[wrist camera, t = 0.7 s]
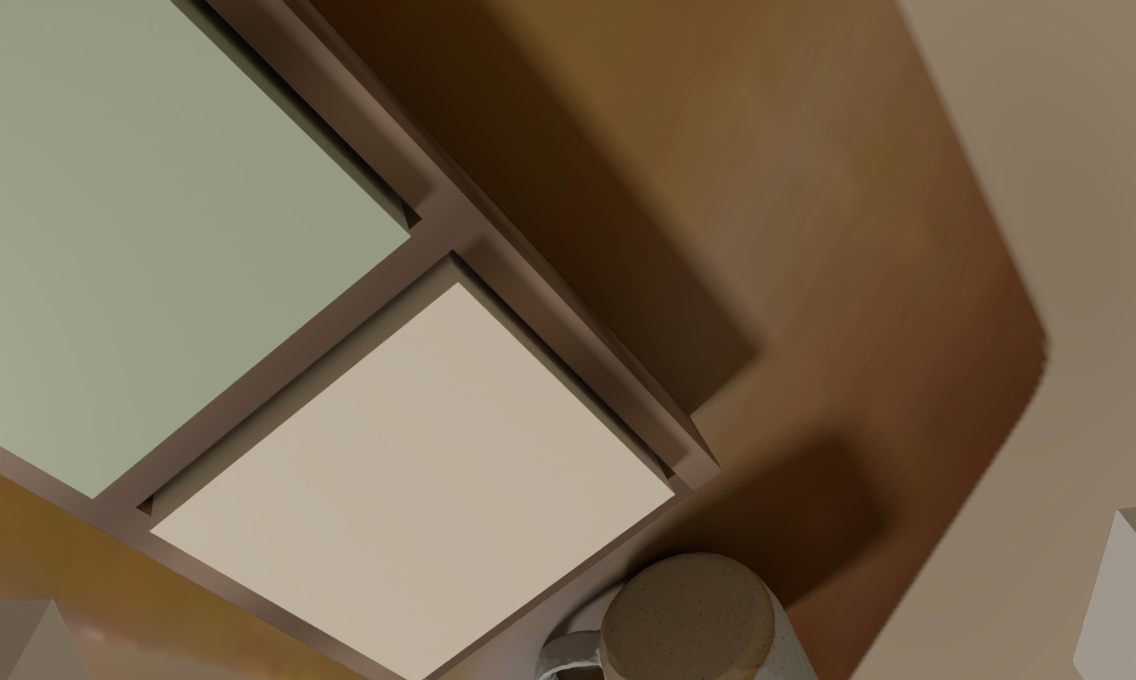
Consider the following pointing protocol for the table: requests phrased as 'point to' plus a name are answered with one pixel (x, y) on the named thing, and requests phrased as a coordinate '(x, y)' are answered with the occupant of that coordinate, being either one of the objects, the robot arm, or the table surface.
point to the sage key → (157, 224)
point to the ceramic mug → (687, 628)
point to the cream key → (416, 478)
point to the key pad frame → (437, 225)
